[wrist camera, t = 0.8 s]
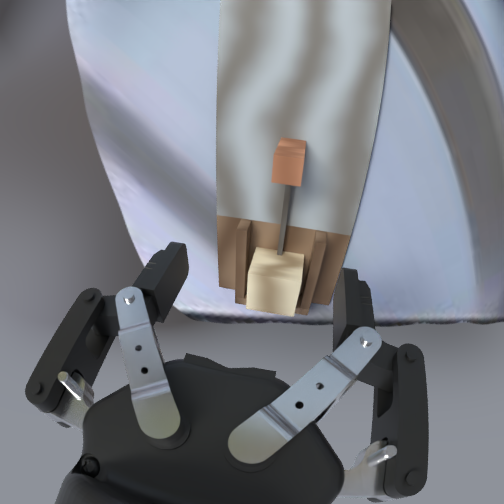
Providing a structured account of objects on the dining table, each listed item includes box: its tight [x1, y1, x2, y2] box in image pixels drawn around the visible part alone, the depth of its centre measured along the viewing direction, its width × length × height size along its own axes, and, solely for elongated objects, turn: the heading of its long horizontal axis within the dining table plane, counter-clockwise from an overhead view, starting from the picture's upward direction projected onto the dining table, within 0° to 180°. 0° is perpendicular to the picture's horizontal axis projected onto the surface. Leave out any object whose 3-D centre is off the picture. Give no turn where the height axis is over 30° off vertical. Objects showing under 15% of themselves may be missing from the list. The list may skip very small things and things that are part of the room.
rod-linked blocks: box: [246, 137, 306, 317], centre depth 31 cm, size 6×20×6 cm, turn 177°
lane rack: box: [216, 0, 391, 315], centre depth 28 cm, size 16×39×3 cm, turn 177°
